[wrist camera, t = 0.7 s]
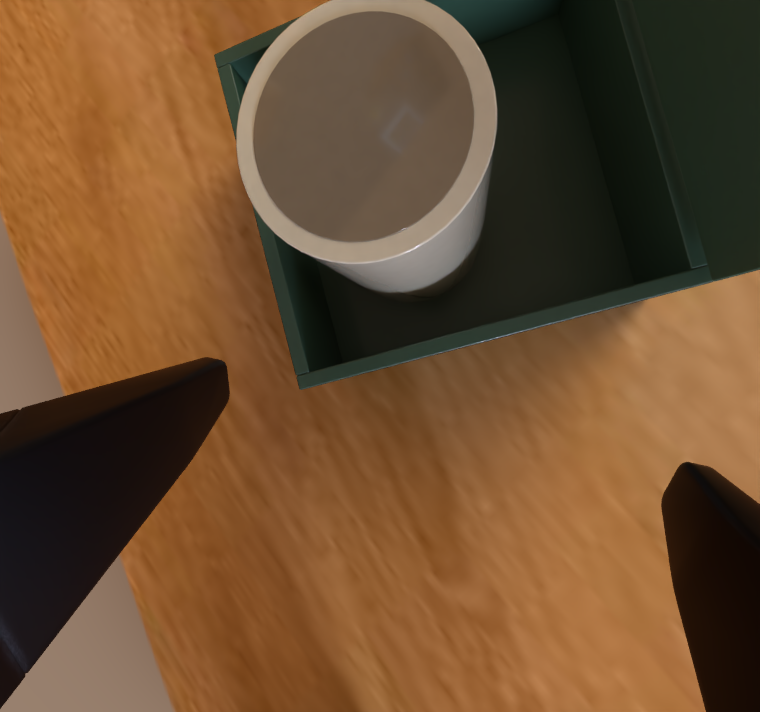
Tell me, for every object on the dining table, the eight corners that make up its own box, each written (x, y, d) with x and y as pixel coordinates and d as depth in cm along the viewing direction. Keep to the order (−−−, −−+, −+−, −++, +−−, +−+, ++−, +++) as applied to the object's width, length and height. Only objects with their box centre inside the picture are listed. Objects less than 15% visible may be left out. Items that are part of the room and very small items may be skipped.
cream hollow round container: (475, 308, 21) (483, 270, 11) (337, 298, 22) (225, 256, 12) (494, 108, 21) (521, -133, 10) (353, 110, 22) (250, -100, 12)
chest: (339, 379, 23) (299, 390, 18) (272, 122, 23) (213, 54, 18) (648, 298, 20) (715, 281, 15) (565, 6, 20) (601, -119, 15)
